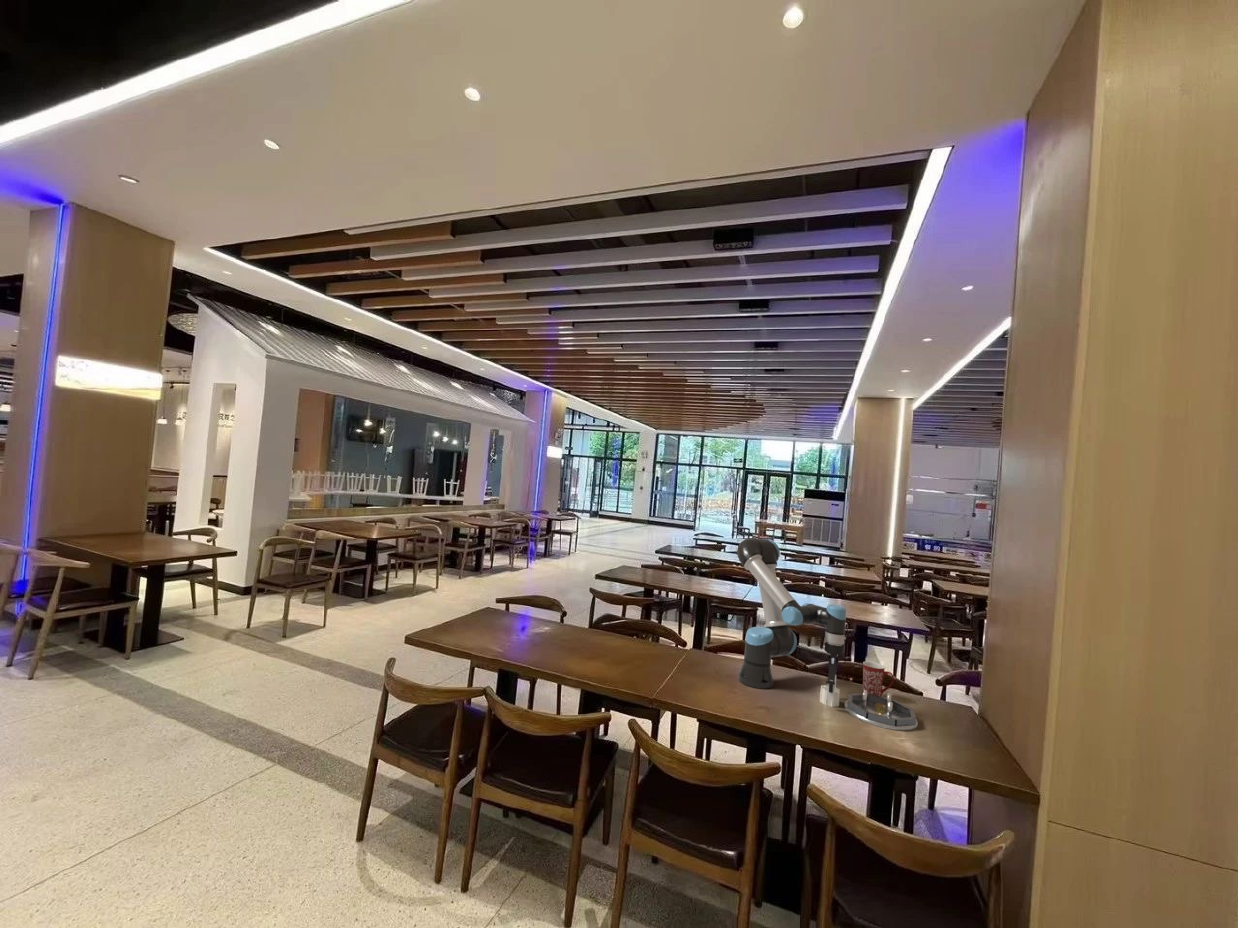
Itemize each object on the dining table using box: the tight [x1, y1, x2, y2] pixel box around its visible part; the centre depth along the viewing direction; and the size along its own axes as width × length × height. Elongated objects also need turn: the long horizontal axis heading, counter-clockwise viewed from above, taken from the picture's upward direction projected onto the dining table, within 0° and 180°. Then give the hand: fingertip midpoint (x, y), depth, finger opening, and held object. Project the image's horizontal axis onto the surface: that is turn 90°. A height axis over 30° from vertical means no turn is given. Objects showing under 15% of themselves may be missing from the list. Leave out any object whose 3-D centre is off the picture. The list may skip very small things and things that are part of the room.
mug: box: [862, 661, 895, 697], centre depth 232 cm, size 13×9×14 cm
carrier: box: [844, 690, 919, 732], centre depth 212 cm, size 26×26×8 cm
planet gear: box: [819, 684, 841, 708], centre depth 219 cm, size 7×7×6 cm
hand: (831, 695), depth 219 cm, fingers open, 13 cm apart
